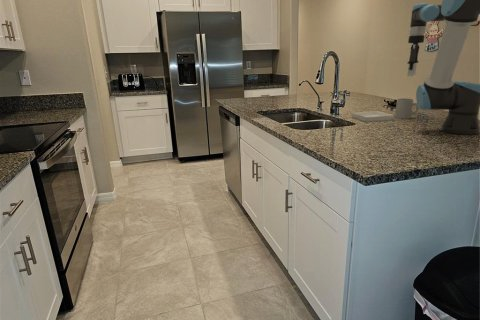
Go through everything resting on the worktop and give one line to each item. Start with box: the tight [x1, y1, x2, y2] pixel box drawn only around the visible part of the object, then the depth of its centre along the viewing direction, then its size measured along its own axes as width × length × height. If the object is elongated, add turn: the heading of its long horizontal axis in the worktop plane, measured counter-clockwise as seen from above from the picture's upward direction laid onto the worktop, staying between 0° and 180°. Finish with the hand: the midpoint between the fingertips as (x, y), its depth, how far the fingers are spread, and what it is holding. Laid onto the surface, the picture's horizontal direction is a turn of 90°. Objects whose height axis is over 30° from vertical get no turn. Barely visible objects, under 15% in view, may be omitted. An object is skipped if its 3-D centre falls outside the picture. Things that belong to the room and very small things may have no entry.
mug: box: [394, 97, 420, 120], centre depth 184 cm, size 12×8×11 cm
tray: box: [351, 110, 395, 123], centre depth 186 cm, size 18×16×3 cm
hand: (411, 75), depth 178 cm, fingers open, 13 cm apart
